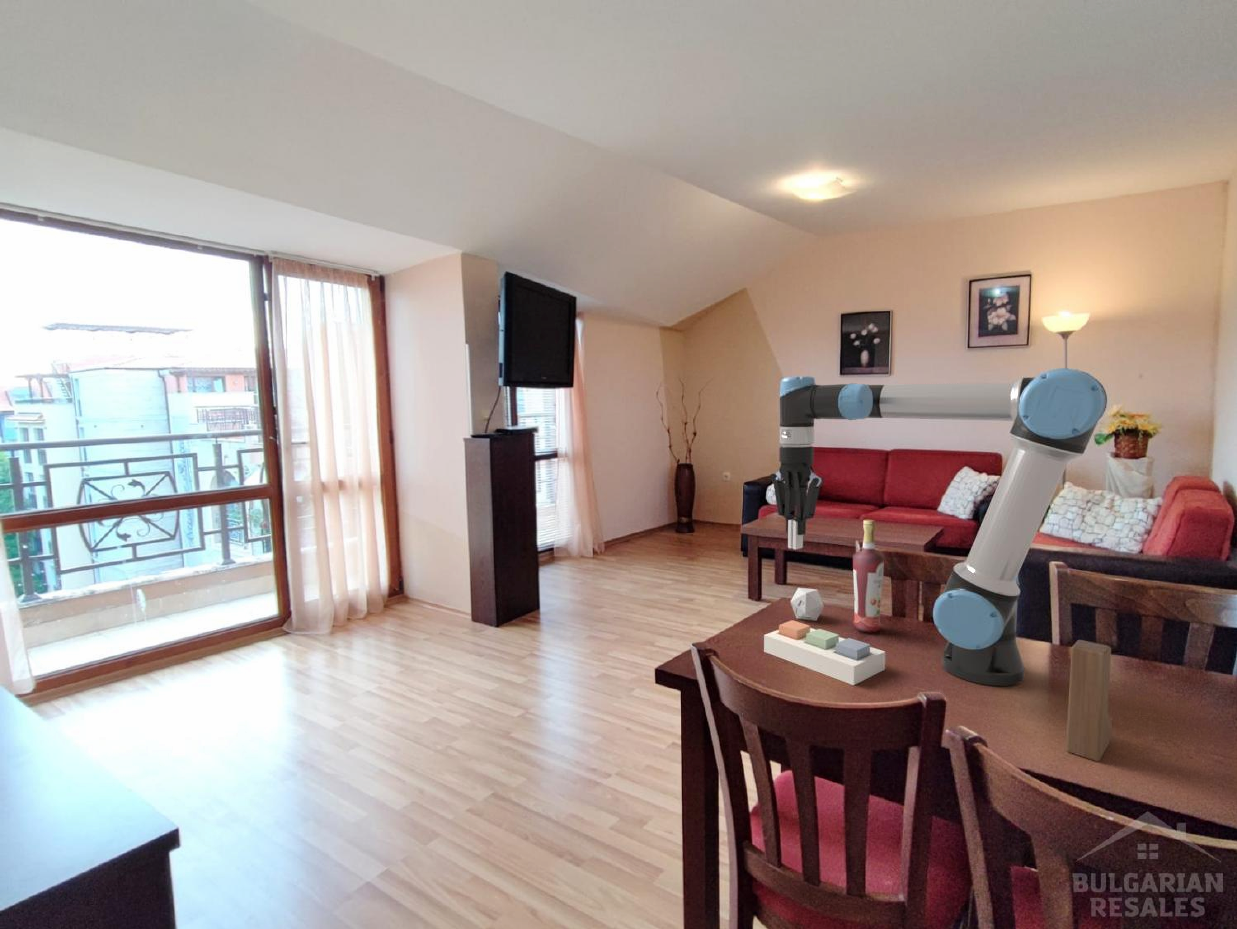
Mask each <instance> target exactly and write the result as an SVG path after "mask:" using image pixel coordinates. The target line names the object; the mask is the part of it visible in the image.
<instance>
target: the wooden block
mask: <svg viewBox="0 0 1237 929" xmlns="http://www.w3.org/2000/svg"><path fill="white" fill-rule="evenodd" d="M1070 653H1071V654H1070V666H1069V667H1070V669H1069V672H1070V673H1069V690H1068V708H1067V724H1066V725H1067V726H1066V743H1065V744H1066V745H1065V749H1066V752H1068V753H1070V754H1073V753H1074V755H1076V756H1080V757H1083V758H1085V759H1088V760H1091V761H1094V762H1100V761H1101V758H1102V757H1103V755H1104V753H1105V752H1106V750H1107V748H1108V747H1109V745H1110V742H1112V741H1111V739H1112V728H1113V727H1112V726H1113V718H1112V716H1110V715H1108V712H1109V709H1108V707H1109V706H1108V705H1109V687H1110V677H1111V676H1110V673H1111V658H1112V656H1111V654H1112V647H1111V646H1110V645H1106V644H1102V643H1101V644H1100V643H1096V642H1093V641H1092V642H1091V641H1087V640H1083V639H1078V640H1076V642H1075V643H1074V644H1072V647H1071V651H1070Z"/></svg>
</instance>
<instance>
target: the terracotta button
mask: <svg viewBox="0 0 1237 929" xmlns="http://www.w3.org/2000/svg"><path fill="white" fill-rule="evenodd" d="M810 628H811V625H808V624H805V623H803V622H800V621H796V620H792V619H791V620H789V621H786V622H784V623H781V624H779V625H778V630H779V634H780V635H783V636H786V637H789V638H791V639H794V640H800V639H802V638H805V637H806V634H807V633H810Z"/></svg>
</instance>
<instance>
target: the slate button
mask: <svg viewBox="0 0 1237 929" xmlns="http://www.w3.org/2000/svg"><path fill="white" fill-rule="evenodd" d="M844 639H845V640H843V641H841V642H838V643H836V654H838V655H841V656H844V657H847V658H850V659H853V660H856V661H859V660H861V659H863V658H865V657H867V656H870V647H871V644H869V643H866V642H863V641H861V640H857V639H854V638H850V637H848V638H844Z"/></svg>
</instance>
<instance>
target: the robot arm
mask: <svg viewBox="0 0 1237 929" xmlns="http://www.w3.org/2000/svg"><path fill="white" fill-rule="evenodd" d="M778 398H779V444H780V445H782V446H780V447H779V449H778V450H779V451H778V452H779V455H778V456H779V458H778V460H779V462H780V467H778V468H779V469H778V471H777V472H775V473H771V474H770V476H769V477H770V479H771V482H772V483H773V489H774V494H775V496H774V497H775V501H776V508H777V513H778V516H782V517H784V518H785V532H786V534H787V548H788V549H793V550H800V549H802V548H804V535H806V532H807V529H806V527H807V526H806V523H807V520H810V519H813V518H814V516H815V512H816V509H817V508H816V507H817V503H818V502H817V501H818V498H819V493H820V489H821V486H822V485H823V483H824V478H823V477H822V476H818V475H817V474H815V470H814V467H813V463H814V461H815V458H814V456H815V451H814V447H813V446H812V445H813V444H815V420H848V421H852V420H853V421H856V420H857V421H858V420H864V419H906V420H907V419H909V420H910V419H915V420H918V419H919V420H953V421H954V420H956V421H957V420H961V421H965V420H966V421H996V422H997V421H1000V422H1001V421H1002V422H1003V421H1004V422H1006V421H1007V422H1010V421H1011V422H1013V424H1012V426H1011V429H1010V432H1009V434H1008V435H1009V436H1010V438H1011V440H1012V441H1013V446H1014V447H1013V448H1012V451H1011V453H1010V456H1009V458H1008V459H1007V460H1008V461H1007V463H1006V466H1005V468H1004V470H1003V472H1002V474H1001V477H1000V479H999V482H998V484H997V487H996V489H995V492H994V494H993V496H992V498H991V501H990V503H989V506H988V508H987V510H986V513H985V515H984V517H983V520H982V523H981V524H980V527H979V530H978V531H977V534H976V537H975V539H974V542H972V543H973V544H972V546H971V547H970V548H971V549H970V551H969V553H968V555H967V557H966V560H964V561H962V562H958V563H956V564H955V565H954V566H953V569H952V572H951V573H950V575H949V578H948V580H947V583H946V584H945V587H944V590H943V592H942V594H941V595H939V596H938V598H936V600H935V602H934V605H933V609H932V610H933V611H932V617H933V622H934V625H935V626H936V629H937V631H938V632H939V633H940V635H941V636H943V638H944V639H945V640H947V644H946V646H945V648H944V650H943V653H942V660H941V663H942V667H943V669H944V670H945V671H947V672H948V673H949V674H951V675H953V676H956V677H958V678H959V679H963V680H965V681H969V682H972V683H977V684H980V685H981V684H982V685H989V686H999V687H1000V686H1001V687H1003V686H1004V687H1005V686H1006V687H1007V686H1008V687H1009V686H1014V684H1015V685H1017V683H1018V684H1020V683H1022V682H1024V680H1023V679H1025V665H1024V662H1023V658H1022V656H1021V653H1020V651H1019V650H1020V649H1019V647H1018V644H1017V639H1016V637H1017V635H1016V634H1017V619H1018V618H1017V616H1018V598H1019V596H1020V595H1021V594H1020V593H1021V589H1020V588H1019V586H1020V582H1019V573H1020V570H1021V568H1022V566H1023V563H1024V562H1025V559H1026V557H1027V555H1028V552H1029V550H1030V548H1031V546H1032V543H1033V541H1034V539H1035V537H1036V534H1038V533H1037V532H1038V530H1039V528H1040V526H1041V523H1042V522H1043V519H1044V517H1045V515H1046V513H1047V511H1048V508H1049V506H1050V504H1051V501H1052V499H1053V497H1054V495H1055V492H1056V491H1057V488H1058V486H1059V485H1060V481H1061V480H1062V477H1063V475H1064V473H1065V470H1066V468H1067V466H1068V464H1069V462H1071V460H1073V459H1076V458H1078V457H1081V456H1083V455H1084V453H1085V451H1086V449H1087V447H1088V444H1089V442H1090V440H1091V438H1092V436H1093V434H1094V431H1095V430H1096V427H1097V425H1098V422H1099V421H1100V419H1101V418H1102V417H1103V416H1104V414H1105V412H1106V409H1107V405H1108V396H1107V392H1106V390H1105V387H1104V385H1103V384H1102V383H1101V382H1100V381H1099V380H1098V379H1097V378H1095V377H1094V376H1092V375H1091V374H1090V373H1088V372H1086V371H1083V370H1079V369H1075V368H1067V367H1065V368H1063V367H1061V368H1060V367H1059V368H1056V369H1050V370H1048V371H1045V372H1043V373H1041V374H1039V375H1038V376H1036V377H1035V376H1034V377H1021V378H1020V379H1019V380H1017V381H1016V382H991V383H990V382H988V383H986V382H985V383H982V382H981V383H979V382H977V383H925V384H924V383H920V384H919V383H916V384H914V383H911V384H910V383H909V384H908V383H907V384H906V383H905V384H865V383H845V384H844V383H842V384H841V383H840V384H838V383H837V384H823V385H821V384H816V381H815V377H813V376H786V377H783V378H782V379H781V381H780V390H779V397H778ZM1019 682H1020V683H1019Z"/></svg>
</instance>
